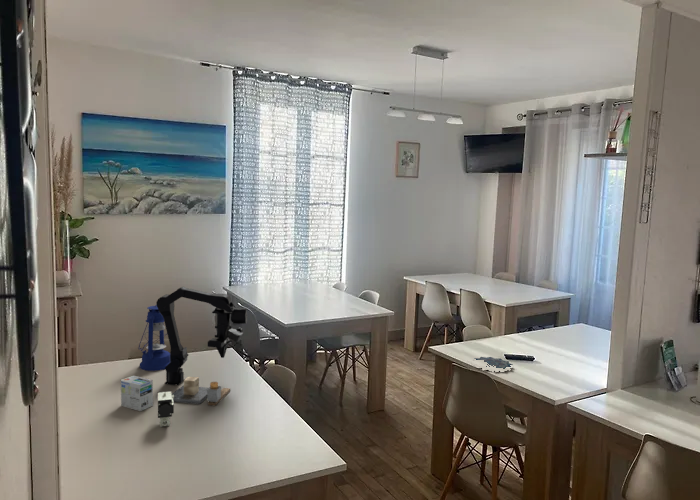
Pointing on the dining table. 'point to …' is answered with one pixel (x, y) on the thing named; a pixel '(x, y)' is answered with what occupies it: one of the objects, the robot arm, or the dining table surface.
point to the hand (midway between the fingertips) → (222, 357)
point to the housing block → (191, 385)
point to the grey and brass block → (214, 392)
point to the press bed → (197, 396)
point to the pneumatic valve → (165, 407)
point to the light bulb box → (136, 393)
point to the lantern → (156, 354)
